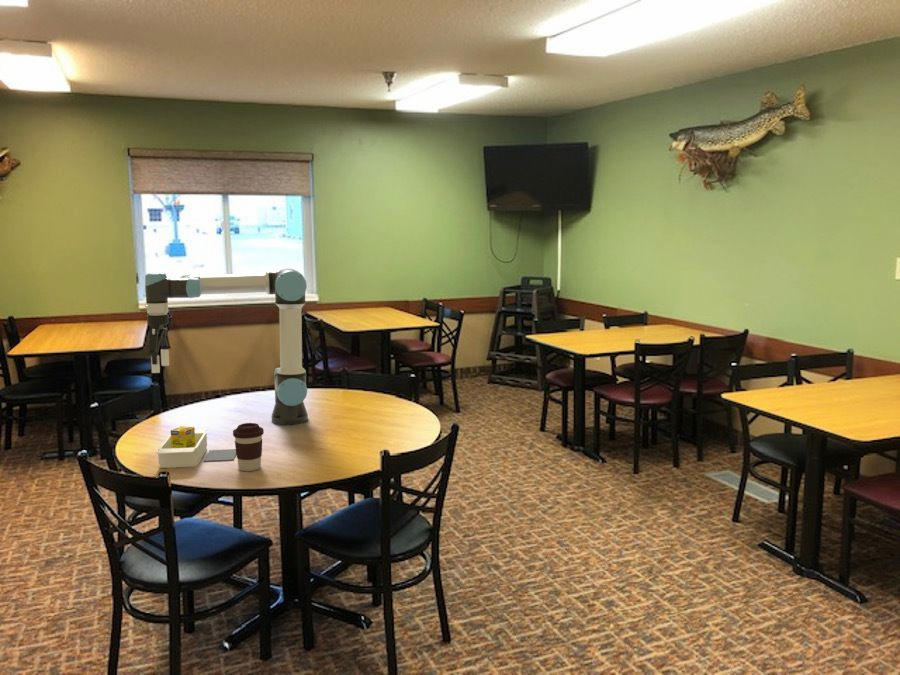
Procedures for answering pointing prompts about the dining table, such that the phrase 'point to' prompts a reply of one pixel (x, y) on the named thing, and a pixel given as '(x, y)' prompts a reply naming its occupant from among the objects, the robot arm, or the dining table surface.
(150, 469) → the dining table surface
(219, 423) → the dining table surface
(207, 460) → the mat
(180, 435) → the supplement box
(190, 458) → the carton
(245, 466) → the coffee cup
